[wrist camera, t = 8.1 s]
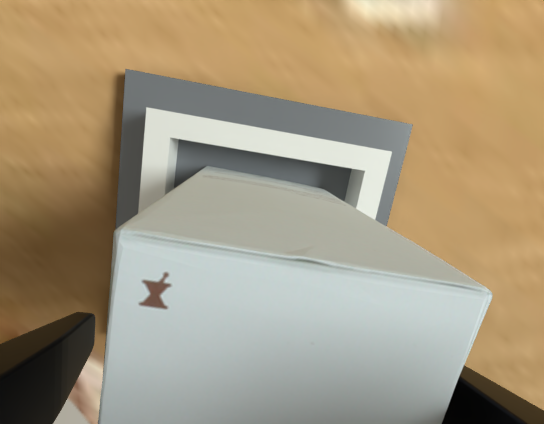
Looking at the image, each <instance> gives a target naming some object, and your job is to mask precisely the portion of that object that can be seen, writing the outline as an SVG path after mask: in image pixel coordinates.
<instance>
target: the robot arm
mask: <svg viewBox="0 0 544 424" xmlns="http://www.w3.org/2000/svg"><path fill="white" fill-rule="evenodd" d="M94 337H95V315H94V314H92V313H83V312H76V313H74V314H71V315H69V316H66V317H64V318H62V319H59V320H57V321H54V322H52V323H50V324H47V325H45V326H42V327H40V328H38V329H35V330H33V331H30V332H28V333H26V334H23V335H21V336H18V337H16V338H14V339H11V340H9V341H6V342H4V343H2V344H0V424H53V422H54V421H55V419H56V418H57V416H58V414H59V413H60V411H61V409H62V407H63V406H64V404H65V402H66V400H67V398H68V396H69V394H70V392H71V390H72V388H73V386H74V385H75V383H76V381H77V379H78V377H79V375H80V373H81V371H82V369H83V367H84V365H85V363H86V361H87V359H88V357H89V355H90V353H91V351H92V349H93V346H94ZM442 424H544V410H542V409H540V408H538V407H536V406H535V405H533V404H531V403H529V402H528V401H526V400H524V399H522V398H521V397H519V396H517V395H515V394H514V393H512V392H510V391H508V390H507V389H505V388H503V387H501V386H500V385H498V384H496V383H494V382H493V381H491V380H489V379H487V378H486V377H484V376H482V375H480V374H479V373H477V372H475V371H473V370H472V369H470V368H468V367H466V366H465V365H464V366H463V369H462V371H461V373H460V376H459V378H458V381H457V384H456V386H455V389H454V392H453V394H452V397H451V400H450V402H449V405H448V408H447V411H446V413H445V416H444V419H443V421H442Z"/></svg>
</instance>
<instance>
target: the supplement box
mask: <svg viewBox="0 0 544 424" xmlns="http://www.w3.org/2000/svg"><path fill="white" fill-rule="evenodd" d="M491 300H492V293H491V291H490V290H489V289H487V288H486V287H485V286H483V285H481V284H480V283H478V282H477V281H475V280H473V279H472V278H470V277H469V276H467V275H465V274H464V273H462V272H461V271H459V270H458V269H456V268H454V267H453V266H451V265H450V264H448V263H447V262H445V261H443V260H442V259H440V258H438V257H437V256H435V255H433V254H432V253H430V252H429V251H427V250H425V249H424V248H422V247H420V246H419V245H417V244H415V243H414V242H412V241H410V240H408V239H407V238H405V237H403V236H402V235H400V234H398V233H397V232H395V231H393V230H391V229H390V228H388V227H386V226H385V225H383V224H381V223H379V222H378V221H376V220H374V219H373V218H371V217H369V216H367V215H366V214H364V213H362V212H361V211H359V210H357V209H356V208H354V207H352V206H351V205H349V204H347V203H346V202H344V201H342V200H340V199H339V198H337V197H336V196H334V195H332V194H331V193H329V192H328V191H326V190H325V189H321V188H317V187H313V186H308V185H304V184H299V183H294V182H289V181H284V180H279V179H274V178H269V177H264V176H259V175H253V174H248V173H243V172H237V171H232V170H227V169H222V168H216V167H211V166H206V167H205V168H203V169H202V170H200V171H199V172H198V173H196V174H195V175H193V176H192V177H190V178H189V179H187V180H186V181H185V182H183V183H182V184H180V185H179V186H177V187H176V188H175V189H173V190H172V191H170V192H169V193H167V194H166V195H164V196H163V197H162V198H160V199H158V200H157V201H155V202H154V203H153V204H151V205H150V206H149V207H147V208H146V209H144V210H143V211H141V212H140V213H138V214H137V215H135V216H134V217H132V218H131V219H130V220H128V221H127V222H125V223H124V224H123V225H121V226H120V227H118V228H117V229H116V230H115V231H114V236H113V252H112V266H111V280H110V293H109V306H108V319H107V331H106V344H105V357H104V369H103V382H102V390H101V399H100V410H99V420H98V424H442V421H443V419H444V416H445V413H446V411H447V408H448V405H449V402H450V400H451V397H452V394H453V392H454V389H455V386H456V384H457V381H458V378H459V376H460V373H461V371H462V369H463V366H464V364H465V362H466V359H467V357H468V355H469V352H470V350H471V347H472V345H473V343H474V340H475V338H476V335H477V333H478V330H479V328H480V325H481V323H482V321H483V318H484V316H485V313H486V311H487V309H488V306H489V304H490V302H491Z"/></svg>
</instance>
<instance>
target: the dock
mask: <svg viewBox="0 0 544 424" xmlns="http://www.w3.org/2000/svg"><path fill="white" fill-rule="evenodd" d="M412 126H413V125H412V124H407V123H402V122H397V121H392V120H387V119H381V118H376V117H371V116H366V115H361V114H356V113H350V112H345V111H340V110H335V109H330V108H325V107H319V106H314V105H309V104H304V103H299V102H294V101H289V100H283V99H278V98H273V97H268V96H263V95H258V94H252V93H247V92H242V91H237V90H232V89H227V88H222V87H216V86H211V85H206V84H201V83H196V82H191V81H185V80H180V79H175V78H170V77H165V76H160V75H154V74H149V73H144V72H139V71H134V70H129V69H126V71H125V87H124V103H123V118H122V134H121V150H120V166H119V182H118V198H117V214H116V229H117V228H118V227H120V226H121V225H123V224H124V223H125V222H127V221H128V220H130V219H131V218H132V217H134V216H135V215H137V214H138V213H140V212H141V211H143V210H144V209H146V208H147V207H149V206H150V205H151V204H153V203H154V202H155V201H157V200H158V199H160V198H162V197H163V196H164V195H166V194H167V193H169V192H170V191H172V190H173V189H175V188H176V187H177V186H179V185H180V184H182V183H183V182H185V181H186V180H187V179H189V178H190V177H192V176H193V175H195V174H196V173H198V172H199V171H200V170H202V169H203V168H205V167H206V166H211V167H216V168H222V169H227V170H232V171H237V172H243V173H248V174H253V175H259V176H264V177H269V178H274V179H279V180H284V181H289V182H294V183H299V184H304V185H308V186H313V187H317V188H321V189H325V190H326V191H328V192H329V193H331V194H332V195H334V196H336V197H337V198H339V199H340V200H342V201H344V202H346V203H347V204H349V205H351V206H352V207H354V208H356V209H357V210H359V211H361V212H362V213H364V214H366V215H367V216H369V217H371V218H373V219H374V220H376V221H378V222H379V223H381V224H383V225H385V226H387V222H388V218H389V215H390V211H391V207H392V203H393V199H394V195H395V191H396V188H397V184H398V180H399V176H400V172H401V168H402V164H403V160H404V157H405V153H406V149H407V145H408V141H409V137H410V133H411V130H412Z"/></svg>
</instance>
